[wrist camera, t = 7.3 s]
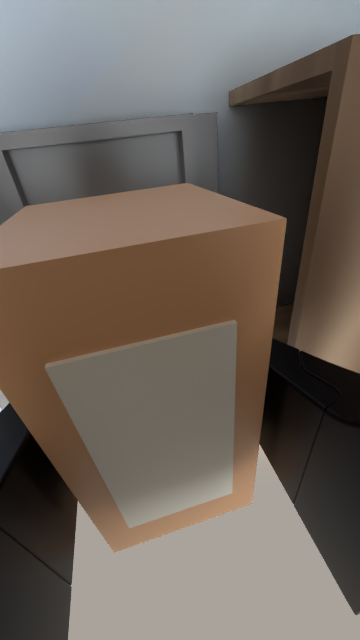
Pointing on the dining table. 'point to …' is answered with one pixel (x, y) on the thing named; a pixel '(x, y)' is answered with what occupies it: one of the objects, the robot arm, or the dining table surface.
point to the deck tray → (105, 161)
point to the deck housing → (324, 204)
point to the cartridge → (142, 349)
